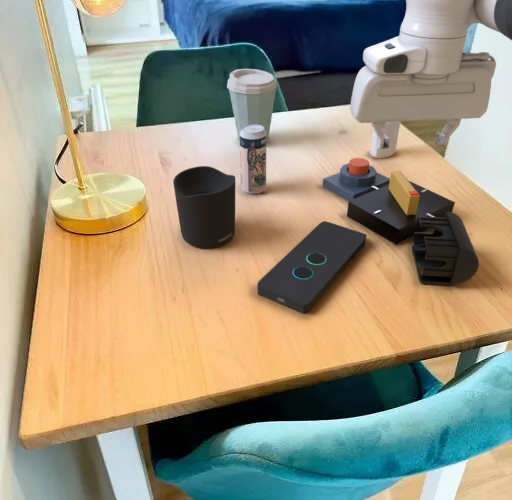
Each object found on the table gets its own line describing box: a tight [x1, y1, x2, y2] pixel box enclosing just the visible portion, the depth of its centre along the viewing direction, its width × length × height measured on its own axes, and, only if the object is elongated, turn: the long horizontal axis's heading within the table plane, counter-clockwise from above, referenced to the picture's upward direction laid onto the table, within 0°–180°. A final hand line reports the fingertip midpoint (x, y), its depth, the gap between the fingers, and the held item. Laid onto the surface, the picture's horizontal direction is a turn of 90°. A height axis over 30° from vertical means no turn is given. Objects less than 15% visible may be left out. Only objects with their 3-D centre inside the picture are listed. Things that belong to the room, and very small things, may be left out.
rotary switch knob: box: [389, 169, 420, 215], centre depth 84 cm, size 9×2×4 cm, turn 6°
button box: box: [322, 162, 390, 201], centre depth 95 cm, size 10×8×4 cm
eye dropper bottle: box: [369, 121, 401, 159], centre depth 104 cm, size 4×6×12 cm
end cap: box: [411, 211, 480, 287], centre depth 73 cm, size 10×7×7 cm
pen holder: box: [172, 165, 236, 249], centre depth 80 cm, size 9×9×10 cm
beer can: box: [239, 124, 267, 195], centre depth 92 cm, size 5×5×12 cm
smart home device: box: [257, 220, 368, 314], centre depth 75 cm, size 8×2×20 cm
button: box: [348, 157, 370, 176], centre depth 93 cm, size 4×4×2 cm
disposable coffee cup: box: [226, 68, 278, 144], centre depth 109 cm, size 11×11×15 cm
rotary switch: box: [346, 180, 456, 246], centre depth 86 cm, size 14×13×3 cm
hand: (411, 146), depth 79 cm, fingers open, 8 cm apart
